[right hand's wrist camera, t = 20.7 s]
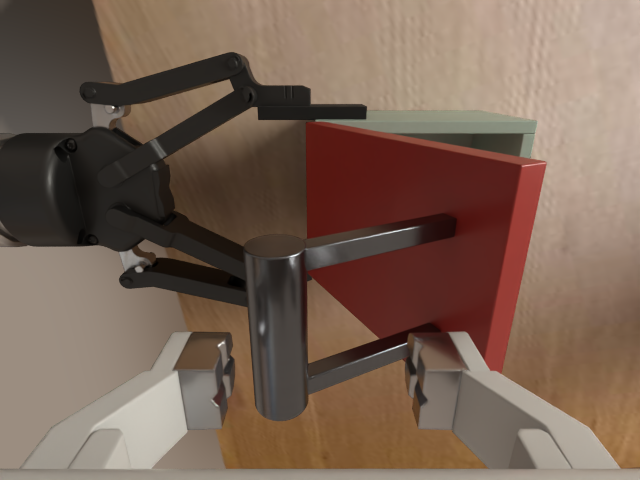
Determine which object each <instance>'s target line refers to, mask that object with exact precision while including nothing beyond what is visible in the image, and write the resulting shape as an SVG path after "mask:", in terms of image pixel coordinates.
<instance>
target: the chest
mask: <svg viewBox="0 0 640 480" xmlns="http://www.w3.org/2000/svg"><path fill="white" fill-rule="evenodd" d="M322 121H323V122H329V123H334V124H340V125H346V126H351V127H357V128H362V129H368V130H373V131H379V132H385V133H390V134H396V135H401V136H407V137H412V138H418V139H424V140H429V141H435V142H440V143H446V144H451V145H457V146H462V147H468V148H474V149H479V150H485V151H490V152H496V153H501V154H507V155H513V156H518V157H524V158H529V159H530V157H531V152H532V147H533V142H534V137H535V134H534V133H535V132H536V127H537V121H535V120H530V119H524V118H519V117H513V116H508V115H502V114H497V113H491V112H486V111H367V116H366V119H316V120H315V122H322Z"/></svg>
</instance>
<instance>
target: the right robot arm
mask: <svg viewBox="0 0 640 480" xmlns="http://www.w3.org/2000/svg"><path fill="white" fill-rule="evenodd" d="M232 347H233V342H232V335H231V334H230V332H174V333H172V334H171V336H170V337H169V339H168V341H167V343H166V344H165V346H164V348H163V349H162V351H161V353H160V354H159V356H158V358H157V360H156V361H155V363H154V365H153V366H152V368H151V370H150V371H143V372H142V373H140V374H138V375H137V376H135V377H133V378H132V379H130V380H128V381H127V382H125V383H123V384H122V385H120V386H118V387H117V388H115V389H113V390H112V391H110V392H109V393H107V394H105V395H104V396H102V397H100V398H99V399H97V400H95V401H94V402H92V403H90V404H89V405H87V406H86V407H84V408H82V409H80V410H79V411H77V412H76V413H74V414H72V415H71V416H69V417H67V418H66V419H64V420H62V421H61V422H59V423H57V424H56V425H54V426H53V427H51V428H50V430H49V431H48V432H47V434H46V435H45V436H44V438H43V439H42V440H41V441H40V443H39V444H38V445H37V446H36V448H35V449H34V450H33V451H32V453H31V454H30V455H29V457H28V458H27V459H26V460H25V462H24V463H23V464H22V466H21V467H20V468H19V469H0V480H640V469H621V468H620V467H619V466H618V464H617V463H616V462H615V460H614V459H613V458H612V457H611V455H610V454H609V453H608V451H607V450H606V449H605V447H604V446H603V445H602V444H601V442H600V441H599V440H598V438H597V437H596V436H595V435H594V433H593V432H592V431H591V429H590V428H589V427H587V426H586V425H584V424H582V423H581V422H579V421H577V420H576V419H574V418H572V417H571V416H569V415H568V414H566V413H564V412H563V411H561V410H559V409H558V408H556V407H554V406H553V405H551V404H549V403H548V402H546V401H545V400H543V399H541V398H540V397H538V396H536V395H535V394H533V393H531V392H530V391H528V390H526V389H525V388H523V387H522V386H520V385H518V384H517V383H515V382H513V381H512V380H510V379H508V378H507V377H505V376H503V375H502V374H500V373H499V372H497V371H490V370H489V368H488V366H487V365H486V363H485V361H484V360H483V358H482V356H481V355H480V353H479V351H478V350H477V348H476V346H475V345H474V343H473V341H472V340H471V338H470V336H469V335H468V333H466V332H465V331H462V332H442V333H409V336H408V341H407V347H408V350H409V354H410V355H409V356H408V357H407V358H406V362H405V381H406V387H407V391H408V395H409V396H410V397H411V398H413V406H412V409H413V412H414V416H415V419H416V423H417V426H418V429H435V430H452V432H453V433H454V434H455V435H456V436H457V437H458V438H459V439H460V440H461V441H462V442H463V443H464V444H465V445H466V446H467V447H468V448H469V449H470V450H471V451H472V452H473V453H474V454H475V455H476V456H477V457H478V458H479V459H480V460H481V461H482V462H483V463H484V464H485V465H486V466H487V467H488V468H489V469H151V468H152V467H153V466H154V465H155V464H156V463H157V462H158V461H159V460H160V459H161V458H162V457H163V456H164V455H165V454H166V453H167V452H168V451H169V450H170V449H171V448H172V447H173V446H174V445H175V444H176V443H177V442H178V441H179V440H180V439H181V438H182V437H183V436H184V435H185V434H186V433H187V430H204V429H222V426H223V423H224V419H225V416H226V412H227V409H228V406H227V398H229V397H230V396H231V395H232V391H233V387H234V380H235V361H234V358H233V357H232V356H231V355H230V354H231V350H232Z"/></svg>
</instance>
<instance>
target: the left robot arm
mask: <svg viewBox="0 0 640 480" xmlns="http://www.w3.org/2000/svg"><path fill="white" fill-rule="evenodd" d="M228 79H230V81H231V84H232V86H233V88H234V91H233V92H232V93H230V94H228V95H227V96H225V97H223V98H222V99H220V100H218V101H217V102H215V103H213V104H212V105H210V106H208V107H207V108H205V109H203V110H202V111H200V112H198V113H197V114H195V115H193V116H192V117H190V118H188V119H187V120H185V121H183V122H182V123H180V124H178V125H177V126H175V127H173V128H172V129H170V130H168V131H167V132H165V133H163V134H162V135H160V136H158V137H157V138H155V139H153V140H151V141H149V142H147V143H145V144H144V145H143V144H141V143H140V142H138V141H137V140H135V139H134V138H132V137H131V136H129V135H128V134H126V133H125V132H123V131H122V130H120V129H119V128H117V127H116V121H117V120H118V119H119V118H121V117H126V116H128V115H129V114H130V112H131V105H133V104H141V103H147V102H151V101H154V100H158V99H161V98H165V97H168V96H172V95H175V94H179V93H182V92H186V91H189V90H193V89H196V88H200V87H203V86H207V85H210V84H214V83H217V82H221V81H224V80H228ZM80 95H81V97H82V98H83V100H85V101H86V102H88V103H90V105H91V113H92V122H93V127H92V128H90V129H88V130H87V131H85V132H84V133H24V134H19V135H14V134H10V133H0V247H22V246H27V245H30V246H38V247H40V246H41V247H42V246H43V247H44V246H93V245H101V246H105V247H108V248H110V249H112V250H114V251H118V252H119V255H120V258H121V261H122V265H123V268H124V271H125V272H124V273H123V274H122V275H121V276H120V278H119V282H120V284H121V285H122V286H123V287H125V288H129V289H132V288H143V287H157V288H162V289H167V290H172V291H176V292H180V293H185V294H190V295H194V296H199V297H203V298H208V299H213V300H217V301H222V302H227V303H231V304H236V305H240V306H245V307H248V306H247V293H246V280H245V268H244V255H243V246H241V245H239V244H237V243H235V242H233V241H231V240H228V239H226V238H224V237H222V236H220V235H218V234H216V233H214V232H212V231H209V230H207V229H205V228H203V227H201V226H199V225H197V224H195V223H193V222H191V221H189V220H188V218H187V217H186V216H184V215H182V214H180V213H178V212H176V211H174V210H173V209H175V205H174V198H173V196H172V193H171V191H170V188H169V182H170V170H169V165H166V164H165V162H164V161H163V159H164V158H166V157H168V156H170V155H171V154H173V153H175V152H176V151H178V150H179V149H181V148H183V147H185V146H186V145H188V144H190V143H191V142H193V141H195V140H196V139H198V138H200V137H202V136H203V135H205V134H207V133H208V132H210V131H212V130H213V129H215V128H217V127H219V126H220V125H222V124H224V123H225V122H227V121H229V120H231V119H232V118H234V117H236V116H237V115H239V114H241V113H242V112H244V111H246V110H248V109H249V108H251V107H258V120H316V119H366V116H367V106H364V105H362V104H311V89H310V88H307V87H305V86H266V85H261V84H259V83H258V82H257V81H256V80H255V79H254V77H253V74H252V72H251V69H250V67H249V62H248V60H247V58H246V57H245V56H242V55H240V54H237V53H234V52H229V53H226V54H222V55H219V56H215V57H212V58H208V59H205V60H202V61H198V62H195V63H191V64H188V65H184V66H181V67H178V68H174V69H171V70H167V71H164V72H160V73H157V74H154V75H150V76H147V77H143V78H140V79H136V80H133V81H130V82H126V83H114V82H85V83H83V84H82V85H81V87H80ZM144 239H147V240H149V241H151V242H153V243H156V244H158V245H160V246H162V247H173V248H175V249H177V250H180V251H182V252H184V253H186V254H188V255H191V256H193V257H195V258H197V259H199V260H202V261H204V262H206V263H208V264H210V265H212V266H215V267H217V268H219V269H215V268H211V267H206V266H202V265H197V264H193V263H188V262H184V261H180V260H175V259H170V258H156V255H155V254H154V253H152V252H150V253H148V252H143V251H142V250H140V249H139V248H138V244H139V243H140V242H142V241H143V240H144ZM220 269H221V270H220ZM310 280H312V277H311V276H310V275H309V274H308V271H307V281H310Z"/></svg>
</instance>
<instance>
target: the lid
mask: <svg viewBox="0 0 640 480" xmlns="http://www.w3.org/2000/svg"><path fill="white" fill-rule="evenodd" d="M546 164H547V163H546V162H545V161H540V160H535V159H529V158H524V157H518V156H513V155H507V154H501V153H496V152H490V151H485V150H479V149H474V148H468V147H462V146H457V145H451V144H446V143H440V142H435V141H429V140H424V139H418V138H412V137H407V136H401V135H396V134H390V133H385V132H379V131H373V130H368V129H362V128H357V127H351V126H346V125H340V124H334V123H329V122H323V121H322V122H306V179H307V239H305V240H302V239H300V238H298V237H295V236H291V235H284V234H271V235H264V236H260V237H256V238H253V239H251V240H249V241H248V242H247V243H245V245H244V247H243V255H244V268H245V280H246V293H247V306H248V319H249V332H250V344H251V357H252V370H253V383H254V396H255V406H256V408H257V410H258V412H259V413H260V414H261V415H262V416H263V417H265V418H267V419H270V420H273V421H286V420H290V419H293V418H295V417H297V416H298V415H300V414H301V413H302V412H303V411H304V410H305V408H306V406H307V404H308V395H309V394H312V393H314V392H317V391H320V390H322V389H325V388H328V387H330V386H333V385H335V384H338V383H341V382H343V381H346V380H348V379H351V378H354V377H356V376H359V375H361V374H364V373H367V372H369V371H372V370H375V369H377V368H380V367H382V366H385V365H388V364H390V363H393V362H395V361H398V360H401V359H403V360H404V361H405V362H406V358H407V357H408V356H409V355H410V354H409V350H408V347H407V341H408V336H409V333H442V332H462V331H465V332H466V333H468V335H469V336H470V338H471V340H472V341H473V343H474V345H475V346H476V348H477V350H478V351H479V353H480V355H481V356H482V358H483V360H484V361H485V363H486V365H487V366H488V368H489V370H490V371H497V372H499V373H500V374H501V373H502V368H503V363H504V359H505V354H506V349H507V345H508V340H509V335H510V331H511V326H512V322H513V317H514V312H515V308H516V303H517V298H518V294H519V289H520V284H521V280H522V275H523V271H524V266H525V261H526V257H527V252H528V247H529V243H530V238H531V233H532V229H533V224H534V219H535V215H536V210H537V206H538V201H539V196H540V192H541V187H542V182H543V178H544V173H545V168H546ZM307 271H308V274H309V275H310V276H311V277H312V278H313V279H315V280H316V281H317V282H318V283H319V284H320V285H321V286H322V287H323V288H324V289H326V290H327V291H328V292H329V293H330V294H331V295H332V296H333V297H334V298H335V299H337V300H338V301H339V302H340V303H341V304H342V305H343V306H344V307H345V308H346V309H348V310H349V311H350V312H351V313H352V314H353V315H354V316H355V317H356V318H358V319H359V320H360V321H361V322H362V323H363V324H364V325H365V326H366V327H367V328H369V329H370V330H371V331H372V332H373V333H374V334H375V335H376V336H377V337H378V338H380V339H379V340H376V341H373V342H370V343H367V344H364V345H361V346H359V347H356V348H353V349H350V350H347V351H344V352H341V353H338V354H335V355H332V356H330V357H327V358H324V359H321V360H318V361H315V362H312V363H309V364H308V328H307Z"/></svg>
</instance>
